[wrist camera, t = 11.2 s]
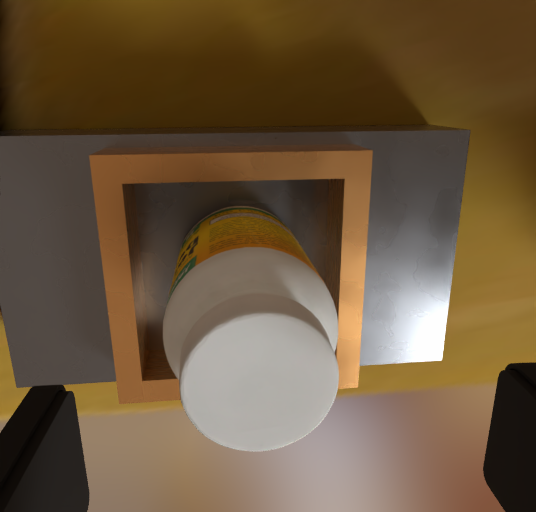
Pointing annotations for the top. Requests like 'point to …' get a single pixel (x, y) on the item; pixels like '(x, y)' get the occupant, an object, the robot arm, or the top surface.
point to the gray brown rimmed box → (198, 207)
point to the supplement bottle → (250, 332)
